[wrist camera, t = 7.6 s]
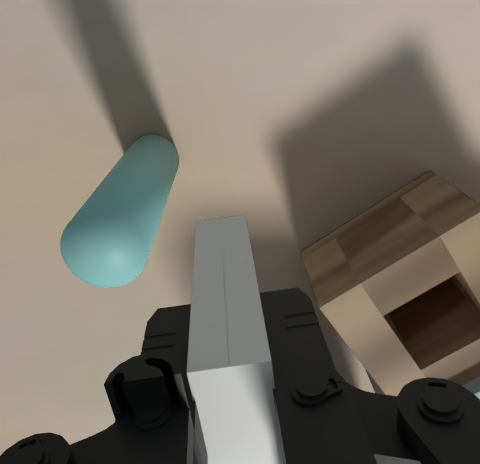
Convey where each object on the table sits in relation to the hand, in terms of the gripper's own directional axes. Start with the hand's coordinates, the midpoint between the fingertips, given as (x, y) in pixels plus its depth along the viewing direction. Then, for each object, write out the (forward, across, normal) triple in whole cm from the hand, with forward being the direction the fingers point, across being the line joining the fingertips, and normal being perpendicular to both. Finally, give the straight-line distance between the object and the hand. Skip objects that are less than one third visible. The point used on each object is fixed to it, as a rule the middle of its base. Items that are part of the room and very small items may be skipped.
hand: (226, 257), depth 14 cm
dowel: (+16, -4, -1) cm, 16 cm away
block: (+15, +11, -11) cm, 22 cm away
